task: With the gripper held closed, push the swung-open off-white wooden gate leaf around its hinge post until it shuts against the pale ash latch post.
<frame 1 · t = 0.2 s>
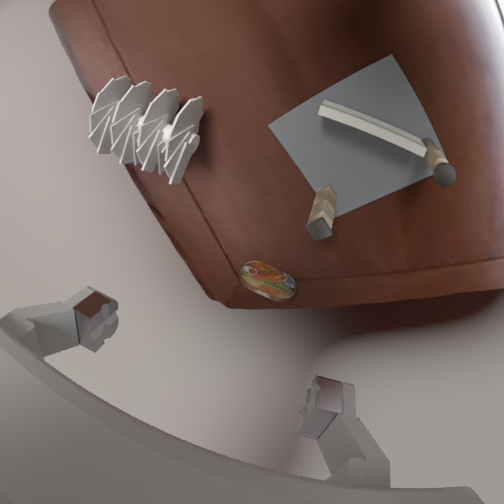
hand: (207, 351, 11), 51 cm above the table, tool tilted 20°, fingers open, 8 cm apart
gate posts: (426, 144, 47), resting on mat
tin: (272, 270, 79), on the table
gate leaf: (373, 125, 45), point 4 cm above the table, hinge at -50.0°
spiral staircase: (166, 113, 60), on the table
mat: (362, 141, 51), on the table
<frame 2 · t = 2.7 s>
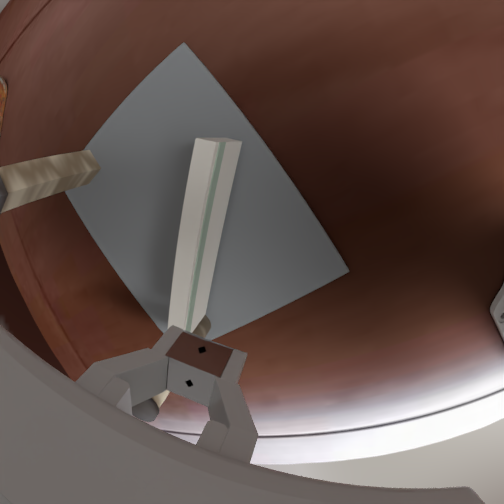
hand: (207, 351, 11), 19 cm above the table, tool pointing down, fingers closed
gate posts: (200, 320, 35), resting on mat
tin: (1, 114, 33), on the table
gate leaf: (200, 245, 27), point 4 cm above the table, hinge at -50.0°
mat: (176, 216, 31), on the table
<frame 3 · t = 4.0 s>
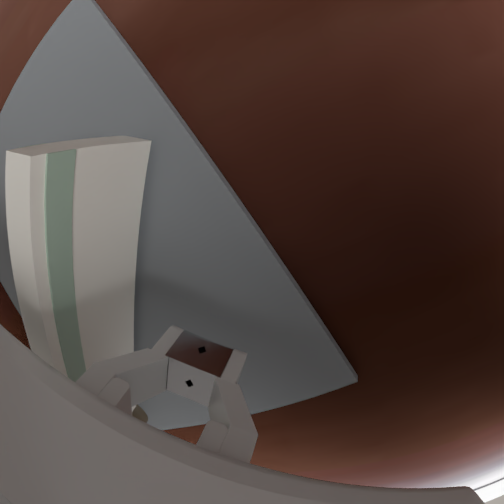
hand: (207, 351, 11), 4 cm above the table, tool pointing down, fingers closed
gate leaf: (88, 339, 13), point 4 cm above the table, hinge at -50.0°
mat: (76, 269, 17), on the table
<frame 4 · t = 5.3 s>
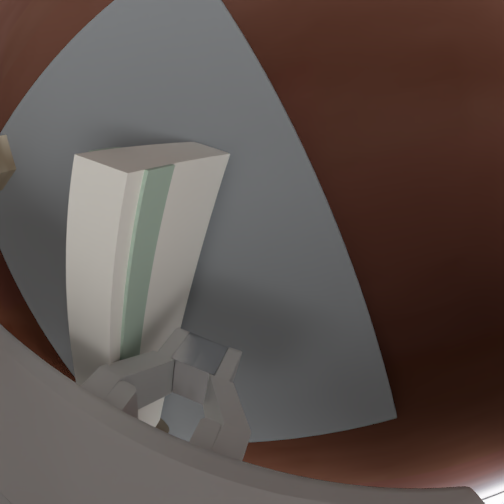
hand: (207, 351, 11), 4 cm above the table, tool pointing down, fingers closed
gate posts: (154, 417, 21), resting on mat
gate leaf: (134, 366, 12), point 4 cm above the table, hinge at -45.1°, touching gripper
mat: (120, 280, 16), on the table
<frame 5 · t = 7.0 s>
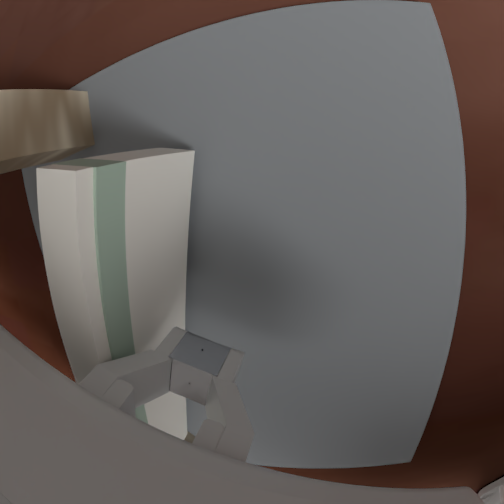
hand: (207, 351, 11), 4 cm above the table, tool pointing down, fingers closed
gate posts: (183, 433, 21), resting on mat
gate leaf: (141, 375, 12), point 4 cm above the table, hinge at -17.7°, touching gripper
mat: (219, 322, 15), on the table
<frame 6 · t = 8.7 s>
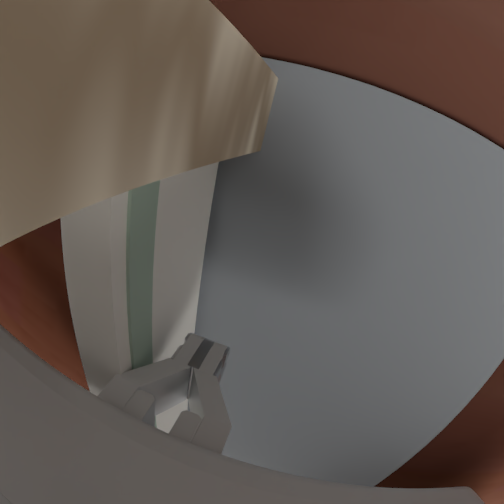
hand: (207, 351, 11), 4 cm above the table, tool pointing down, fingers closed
gate posts: (180, 430, 21), resting on mat
gate leaf: (151, 379, 12), point 4 cm above the table, hinge at 1.9°, touching gripper
mat: (296, 368, 15), on the table
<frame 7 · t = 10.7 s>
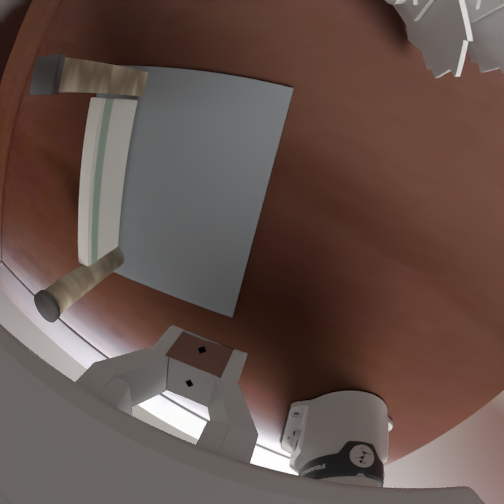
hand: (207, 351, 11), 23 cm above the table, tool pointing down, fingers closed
gate posts: (117, 254, 39), resting on mat
gate leaf: (103, 181, 30), point 4 cm above the table, hinge at -1.1°
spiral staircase: (462, 13, 18), on the table
mat: (162, 186, 34), on the table
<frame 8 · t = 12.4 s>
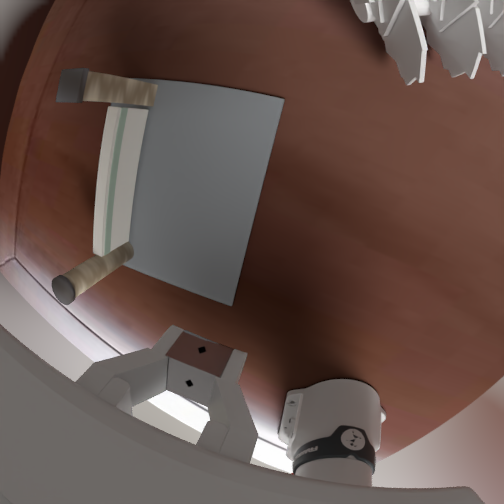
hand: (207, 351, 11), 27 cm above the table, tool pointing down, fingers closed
gate posts: (127, 248, 44), resting on mat
gate leaf: (117, 180, 35), point 4 cm above the table, hinge at -1.1°
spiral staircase: (439, 23, 22), on the table
mat: (169, 186, 38), on the table
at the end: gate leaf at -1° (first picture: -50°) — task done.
